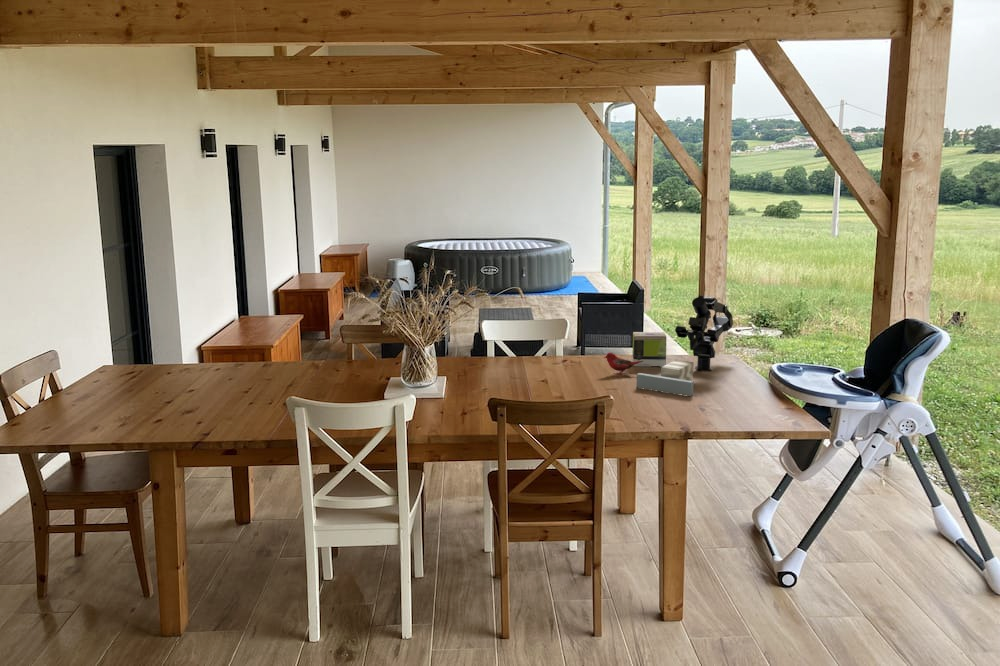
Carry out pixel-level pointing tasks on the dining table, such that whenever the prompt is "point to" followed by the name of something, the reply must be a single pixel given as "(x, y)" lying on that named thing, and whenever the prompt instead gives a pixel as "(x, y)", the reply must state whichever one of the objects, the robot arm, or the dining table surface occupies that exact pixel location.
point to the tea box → (649, 348)
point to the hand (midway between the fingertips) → (691, 349)
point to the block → (678, 370)
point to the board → (665, 384)
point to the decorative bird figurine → (619, 363)
